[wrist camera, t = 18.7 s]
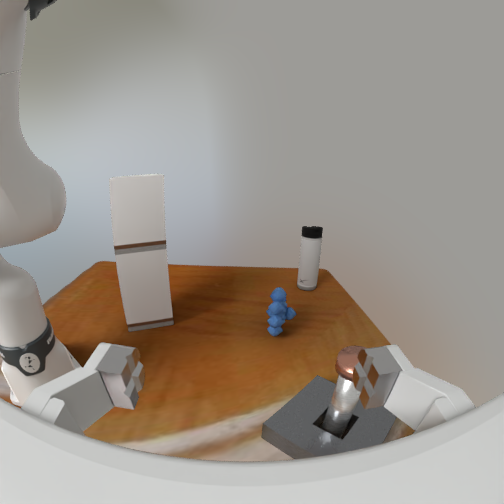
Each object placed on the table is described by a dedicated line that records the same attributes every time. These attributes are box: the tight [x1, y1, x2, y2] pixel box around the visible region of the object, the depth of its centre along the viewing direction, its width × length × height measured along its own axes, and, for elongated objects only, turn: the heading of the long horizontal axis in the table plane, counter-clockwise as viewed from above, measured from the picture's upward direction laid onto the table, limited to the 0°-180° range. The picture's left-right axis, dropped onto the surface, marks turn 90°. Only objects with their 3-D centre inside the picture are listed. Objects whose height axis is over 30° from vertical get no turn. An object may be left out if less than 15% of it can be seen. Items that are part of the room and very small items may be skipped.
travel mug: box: [297, 226, 323, 291], centre depth 83 cm, size 6×7×20 cm
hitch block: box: [262, 375, 396, 459], centre depth 33 cm, size 16×14×4 cm
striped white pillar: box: [109, 174, 174, 332], centre depth 60 cm, size 11×11×35 cm
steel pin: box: [321, 346, 367, 439], centre depth 31 cm, size 5×5×16 cm
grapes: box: [266, 287, 296, 336], centre depth 59 cm, size 12×7×12 cm, turn 170°
